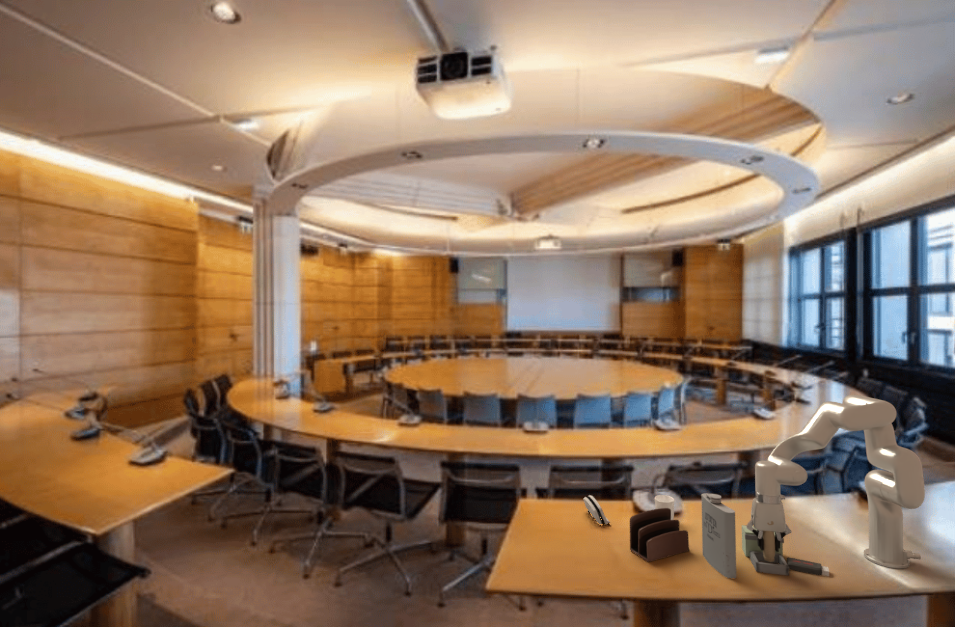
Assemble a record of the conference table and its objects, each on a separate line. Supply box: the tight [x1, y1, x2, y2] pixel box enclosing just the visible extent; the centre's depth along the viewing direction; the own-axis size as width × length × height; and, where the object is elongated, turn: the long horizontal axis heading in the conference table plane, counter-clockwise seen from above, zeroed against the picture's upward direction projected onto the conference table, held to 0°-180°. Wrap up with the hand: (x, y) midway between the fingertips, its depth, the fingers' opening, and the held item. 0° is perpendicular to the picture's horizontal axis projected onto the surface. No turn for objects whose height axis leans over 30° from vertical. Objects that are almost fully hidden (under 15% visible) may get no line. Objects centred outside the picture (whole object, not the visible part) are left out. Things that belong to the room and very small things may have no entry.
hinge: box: [582, 494, 611, 525], centre depth 216 cm, size 17×5×10 cm, turn 6°
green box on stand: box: [741, 524, 790, 576], centre depth 177 cm, size 12×16×9 cm
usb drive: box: [786, 557, 830, 577], centre depth 171 cm, size 5×12×3 cm, turn 59°
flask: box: [700, 492, 737, 580], centre depth 175 cm, size 17×5×25 cm, turn 4°
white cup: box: [654, 494, 675, 520], centre depth 211 cm, size 8×8×10 cm
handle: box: [763, 521, 775, 563], centre depth 173 cm, size 5×6×15 cm
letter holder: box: [629, 508, 690, 563], centre depth 187 cm, size 10×20×14 cm, turn 112°
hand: (768, 548), depth 173 cm, fingers closed on handle, 4 cm apart
